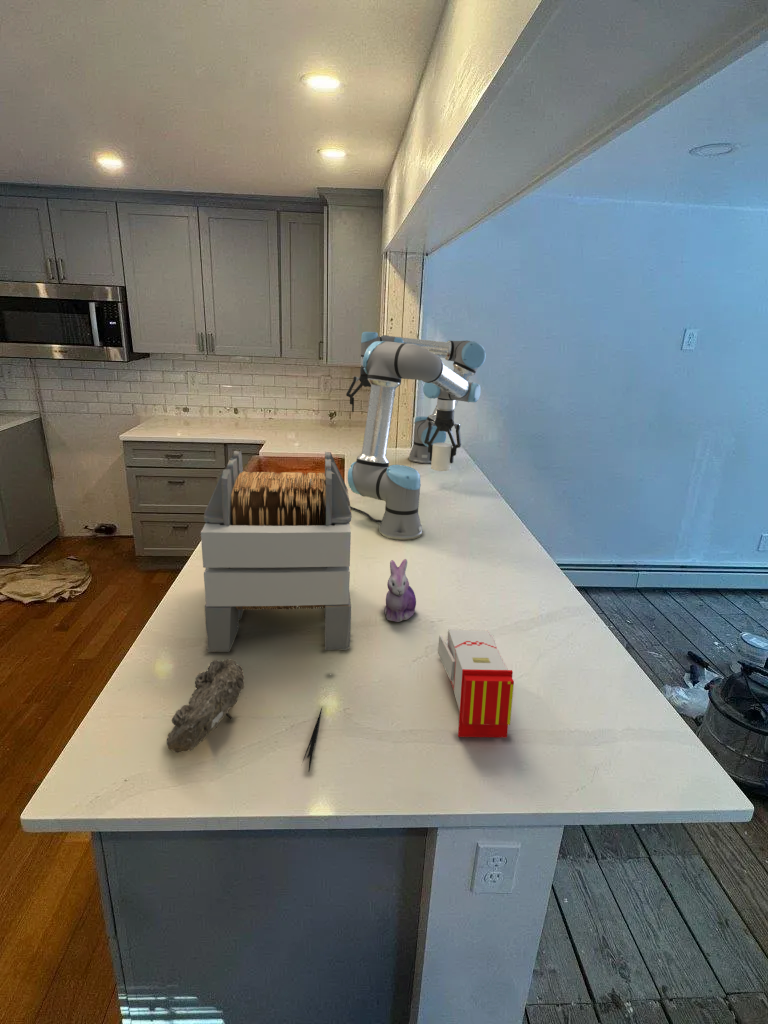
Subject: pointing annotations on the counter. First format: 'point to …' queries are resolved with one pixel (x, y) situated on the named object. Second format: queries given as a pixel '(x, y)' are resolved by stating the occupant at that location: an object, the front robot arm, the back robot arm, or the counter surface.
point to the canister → (441, 456)
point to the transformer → (277, 549)
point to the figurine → (399, 594)
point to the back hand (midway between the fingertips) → (367, 411)
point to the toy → (478, 682)
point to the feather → (313, 740)
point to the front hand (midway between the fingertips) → (441, 461)
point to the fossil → (206, 705)
